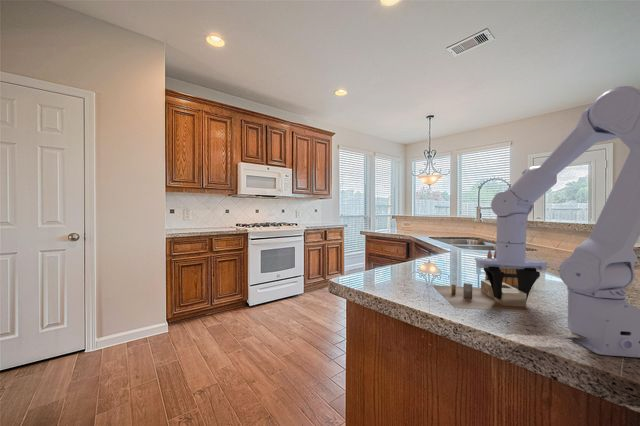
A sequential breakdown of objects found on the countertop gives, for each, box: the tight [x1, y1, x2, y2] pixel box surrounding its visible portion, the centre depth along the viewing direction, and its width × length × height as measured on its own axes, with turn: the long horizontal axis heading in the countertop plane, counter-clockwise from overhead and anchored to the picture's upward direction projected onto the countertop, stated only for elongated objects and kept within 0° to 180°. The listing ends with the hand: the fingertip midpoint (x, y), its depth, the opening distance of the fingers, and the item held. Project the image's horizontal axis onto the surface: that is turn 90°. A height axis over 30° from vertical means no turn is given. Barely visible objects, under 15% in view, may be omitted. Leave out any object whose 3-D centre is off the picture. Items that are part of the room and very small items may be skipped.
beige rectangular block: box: [480, 279, 527, 306], centre depth 66 cm, size 11×5×3 cm, turn 172°
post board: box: [432, 282, 542, 314], centre depth 67 cm, size 18×18×5 cm
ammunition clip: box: [484, 249, 518, 287], centre depth 79 cm, size 11×2×12 cm, turn 76°
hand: (509, 298), depth 63 cm, fingers closed on beige rectangular block, 5 cm apart
